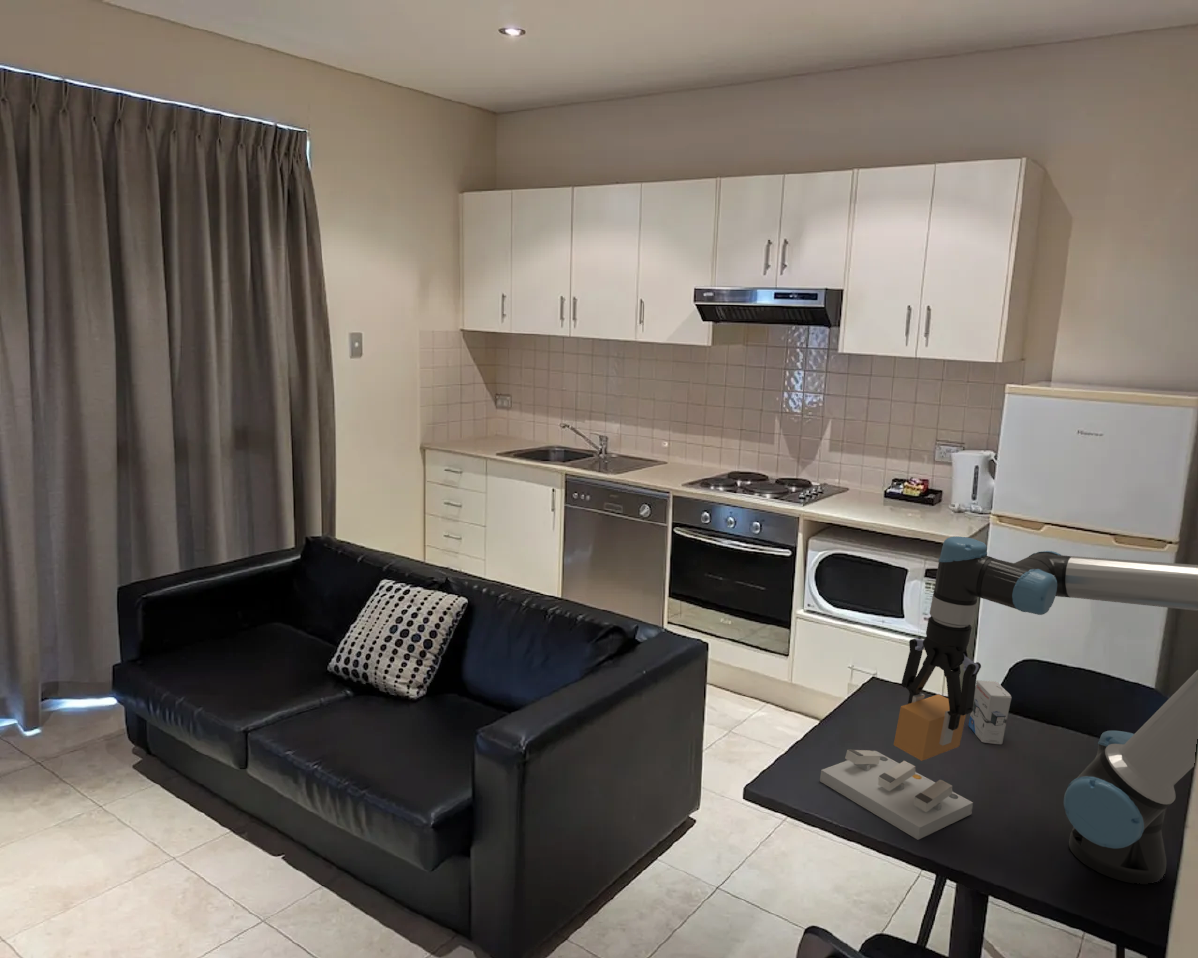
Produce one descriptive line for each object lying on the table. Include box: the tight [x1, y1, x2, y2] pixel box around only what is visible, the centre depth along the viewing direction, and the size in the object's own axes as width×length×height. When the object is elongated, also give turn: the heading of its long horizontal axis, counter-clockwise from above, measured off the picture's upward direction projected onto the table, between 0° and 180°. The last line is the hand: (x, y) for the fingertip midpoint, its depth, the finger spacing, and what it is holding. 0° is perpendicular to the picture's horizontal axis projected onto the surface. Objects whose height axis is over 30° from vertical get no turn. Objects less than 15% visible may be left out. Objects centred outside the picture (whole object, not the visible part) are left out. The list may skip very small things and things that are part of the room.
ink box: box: [968, 679, 1012, 745], centre depth 205 cm, size 9×5×12 cm, turn 179°
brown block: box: [893, 693, 967, 762], centre depth 169 cm, size 6×12×8 cm, turn 126°
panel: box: [819, 750, 974, 841], centre depth 176 cm, size 23×17×4 cm
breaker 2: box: [878, 760, 916, 791], centre depth 175 cm, size 3×8×2 cm, turn 126°
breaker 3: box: [914, 778, 953, 812], centre depth 169 cm, size 3×8×2 cm, turn 126°
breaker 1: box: [844, 748, 881, 764], centre depth 182 cm, size 3×8×2 cm, turn 125°
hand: (928, 734), depth 169 cm, fingers closed on brown block, 6 cm apart
